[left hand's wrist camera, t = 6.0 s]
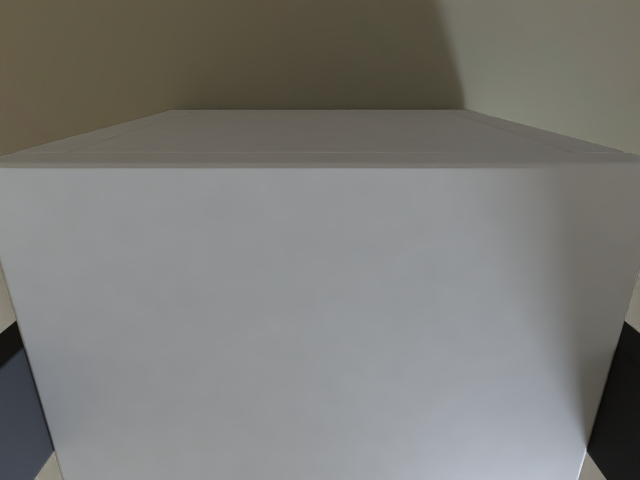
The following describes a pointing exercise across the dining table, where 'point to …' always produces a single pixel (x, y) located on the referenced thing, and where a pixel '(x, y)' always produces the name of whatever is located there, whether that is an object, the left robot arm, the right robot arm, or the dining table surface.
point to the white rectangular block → (320, 294)
